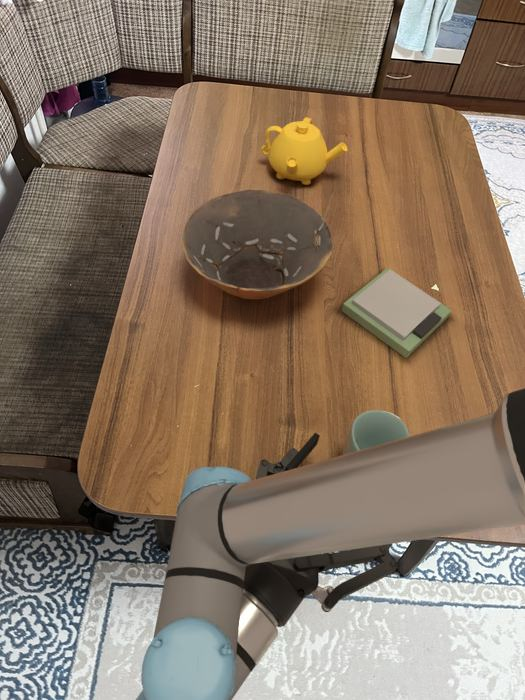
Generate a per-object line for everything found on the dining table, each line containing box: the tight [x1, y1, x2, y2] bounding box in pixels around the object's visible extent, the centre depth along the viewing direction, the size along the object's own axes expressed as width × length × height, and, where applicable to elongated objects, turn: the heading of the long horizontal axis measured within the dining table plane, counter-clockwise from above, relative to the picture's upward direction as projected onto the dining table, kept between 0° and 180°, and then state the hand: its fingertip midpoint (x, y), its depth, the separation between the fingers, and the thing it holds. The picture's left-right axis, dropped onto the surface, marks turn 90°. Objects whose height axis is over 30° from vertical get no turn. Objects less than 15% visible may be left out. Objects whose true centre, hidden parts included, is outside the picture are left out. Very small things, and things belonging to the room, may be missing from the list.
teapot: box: [261, 116, 348, 186], centre depth 112 cm, size 14×14×11 cm
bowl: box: [181, 189, 333, 300], centre depth 93 cm, size 25×25×10 cm
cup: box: [341, 409, 411, 455], centre depth 72 cm, size 8×8×10 cm
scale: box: [341, 267, 452, 359], centre depth 92 cm, size 14×13×3 cm
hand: (358, 469), depth 69 cm, fingers open, 13 cm apart
